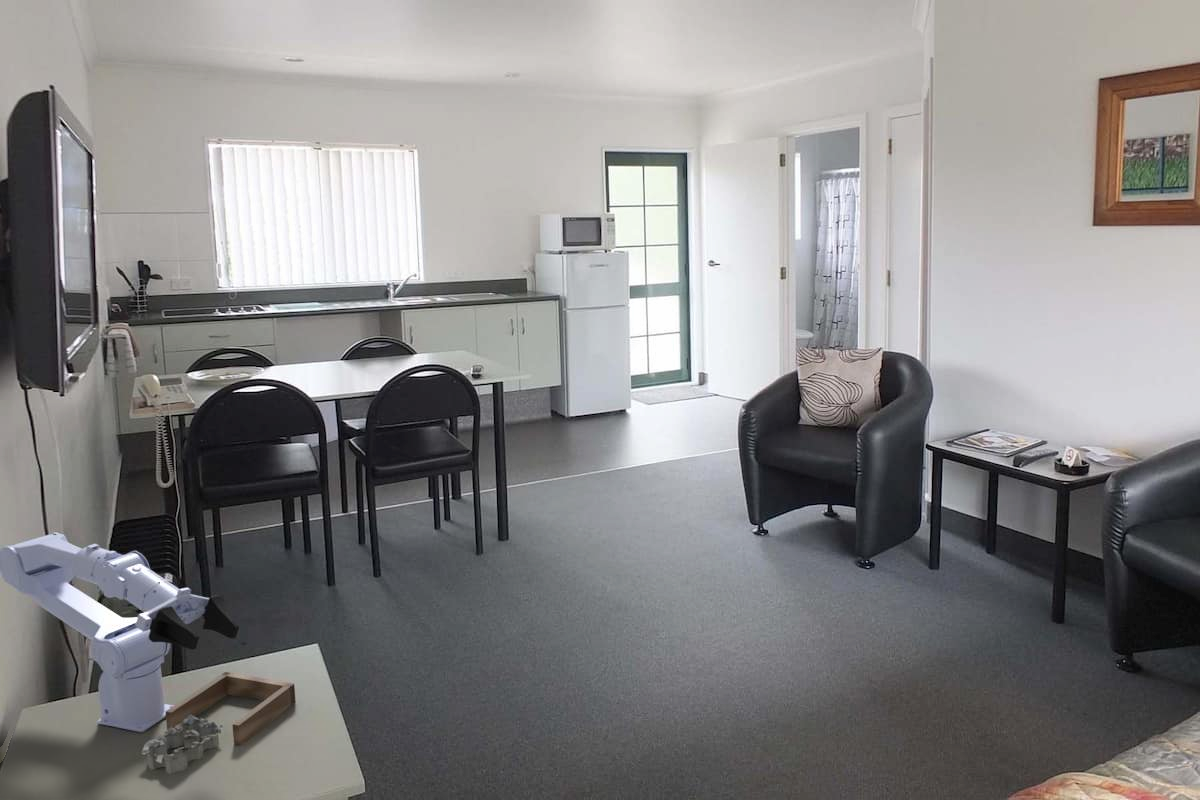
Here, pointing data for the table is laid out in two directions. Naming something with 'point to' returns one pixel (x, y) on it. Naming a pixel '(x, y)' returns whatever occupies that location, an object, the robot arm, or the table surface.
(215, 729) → the egg carton
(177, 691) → the table surface
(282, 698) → the walnut u-shaped frame
